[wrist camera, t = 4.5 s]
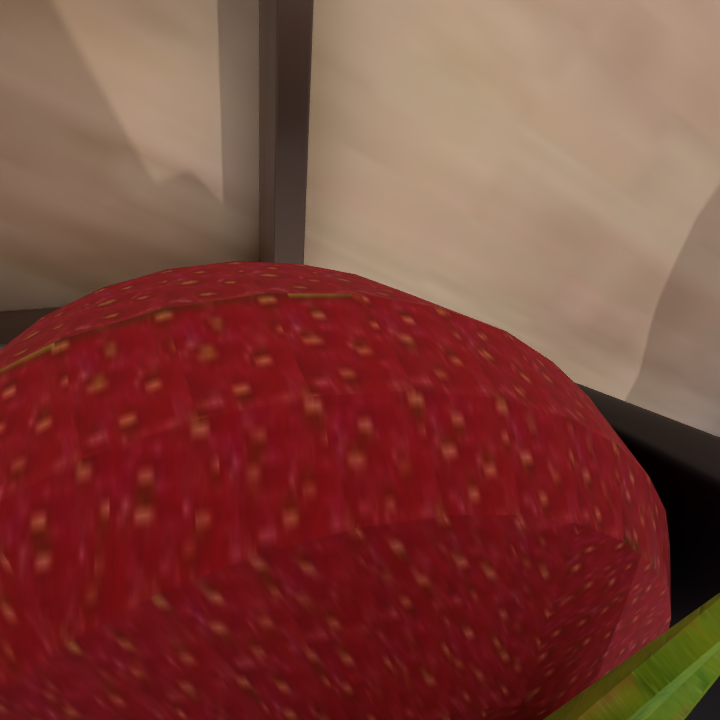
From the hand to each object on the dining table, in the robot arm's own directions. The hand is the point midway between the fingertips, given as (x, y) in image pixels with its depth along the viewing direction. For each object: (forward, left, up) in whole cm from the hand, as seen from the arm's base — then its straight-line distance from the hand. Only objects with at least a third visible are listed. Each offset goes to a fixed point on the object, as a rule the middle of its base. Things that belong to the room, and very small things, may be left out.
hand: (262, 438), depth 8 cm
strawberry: (0, 0, -3) cm, 3 cm away
